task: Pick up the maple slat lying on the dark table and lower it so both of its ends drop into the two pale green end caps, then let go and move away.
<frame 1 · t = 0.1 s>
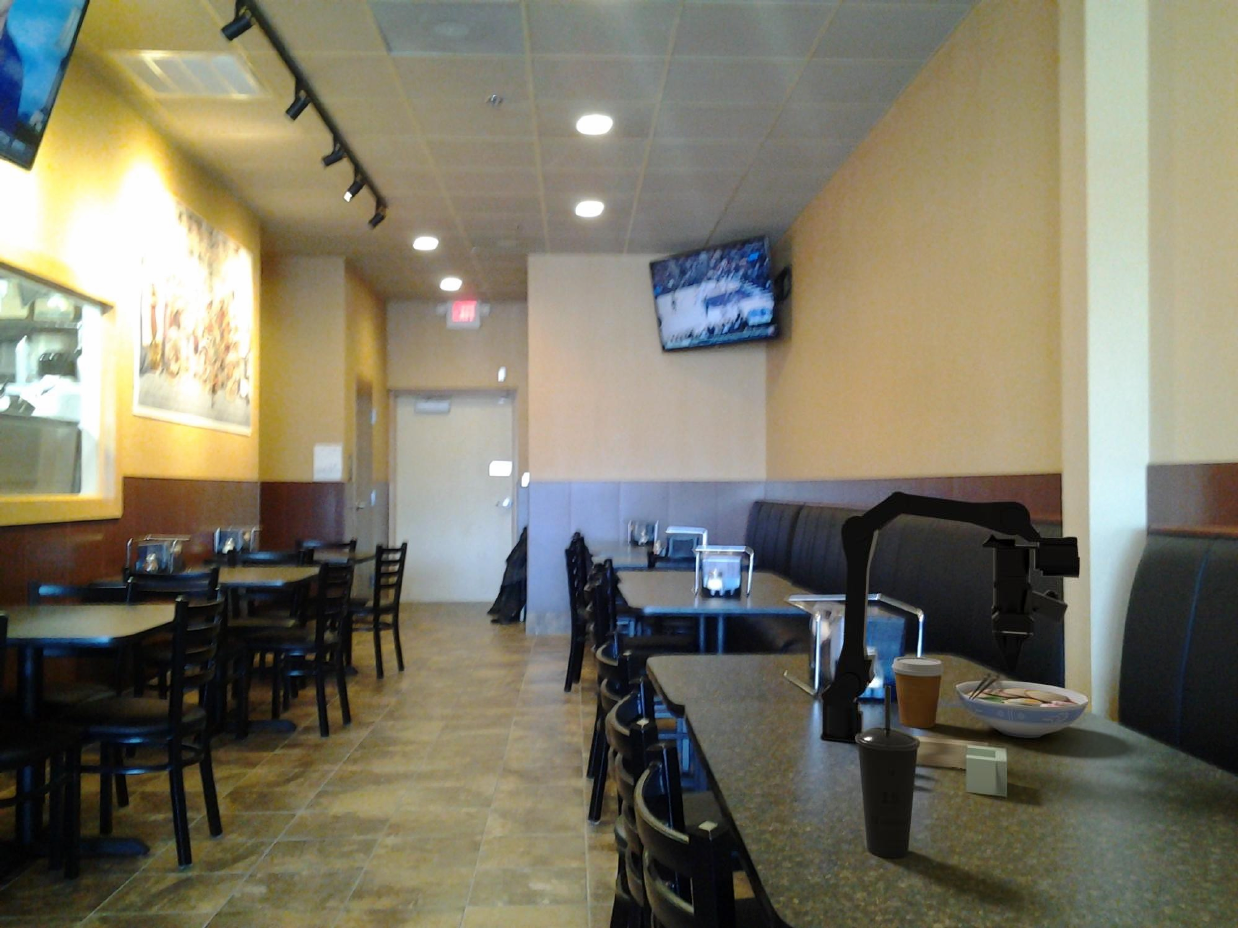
hand: (1011, 668, 158), 15 cm above the table, tool pointing down, fingers open, 9 cm apart
left end cap: (891, 775, 145), on the table
slat: (938, 765, 152), on the table
ramen bowl: (1020, 733, 173), on the table
drinking cup: (887, 852, 115), on the table
disposable coffee cup: (917, 725, 178), on the table
right end cap: (981, 785, 141), on the table
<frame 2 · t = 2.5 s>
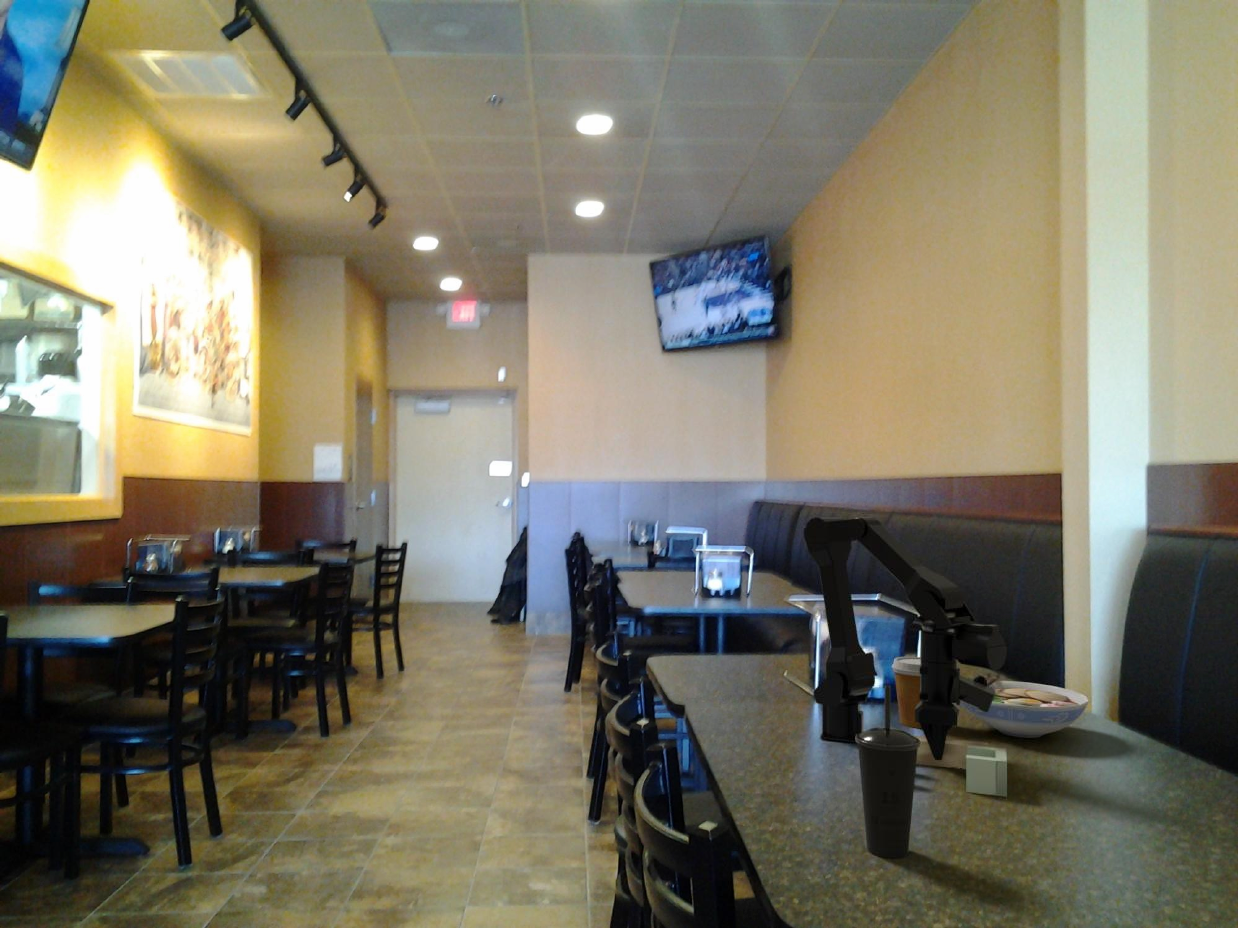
hand: (938, 756, 152), 1 cm above the table, tool pointing down, fingers closed on slat, 3 cm apart
slat: (938, 765, 152), on the table, touching gripper
everything else where it was.
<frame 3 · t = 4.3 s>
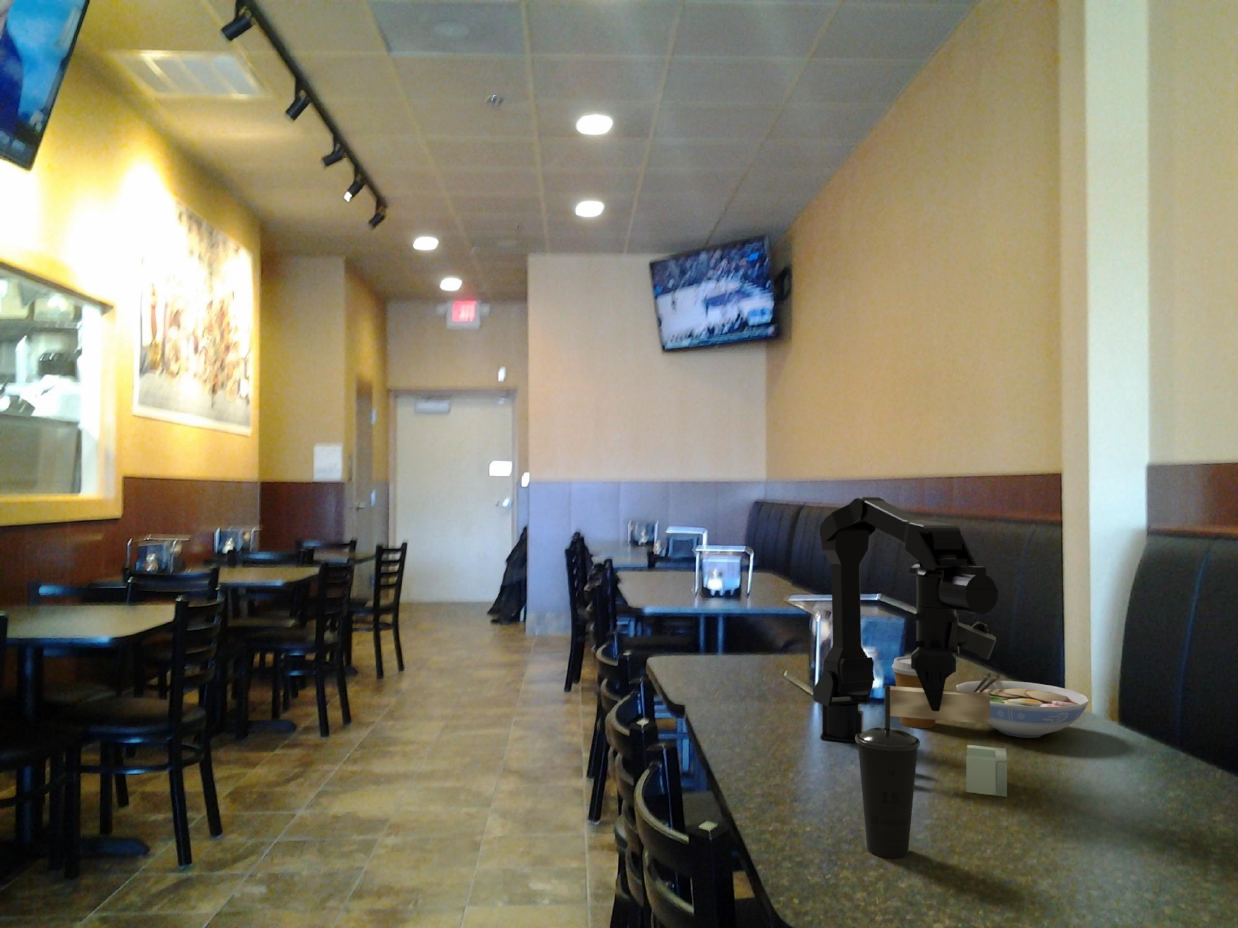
hand: (936, 708, 143), 11 cm above the table, tool pointing down, fingers closed on slat, 3 cm apart
slat: (936, 717, 143), point 10 cm above the table, touching gripper
everything else where it was.
when the fingers open (2 cm above the table, at t = 5.8 s): slat drops 1 cm, on the table.
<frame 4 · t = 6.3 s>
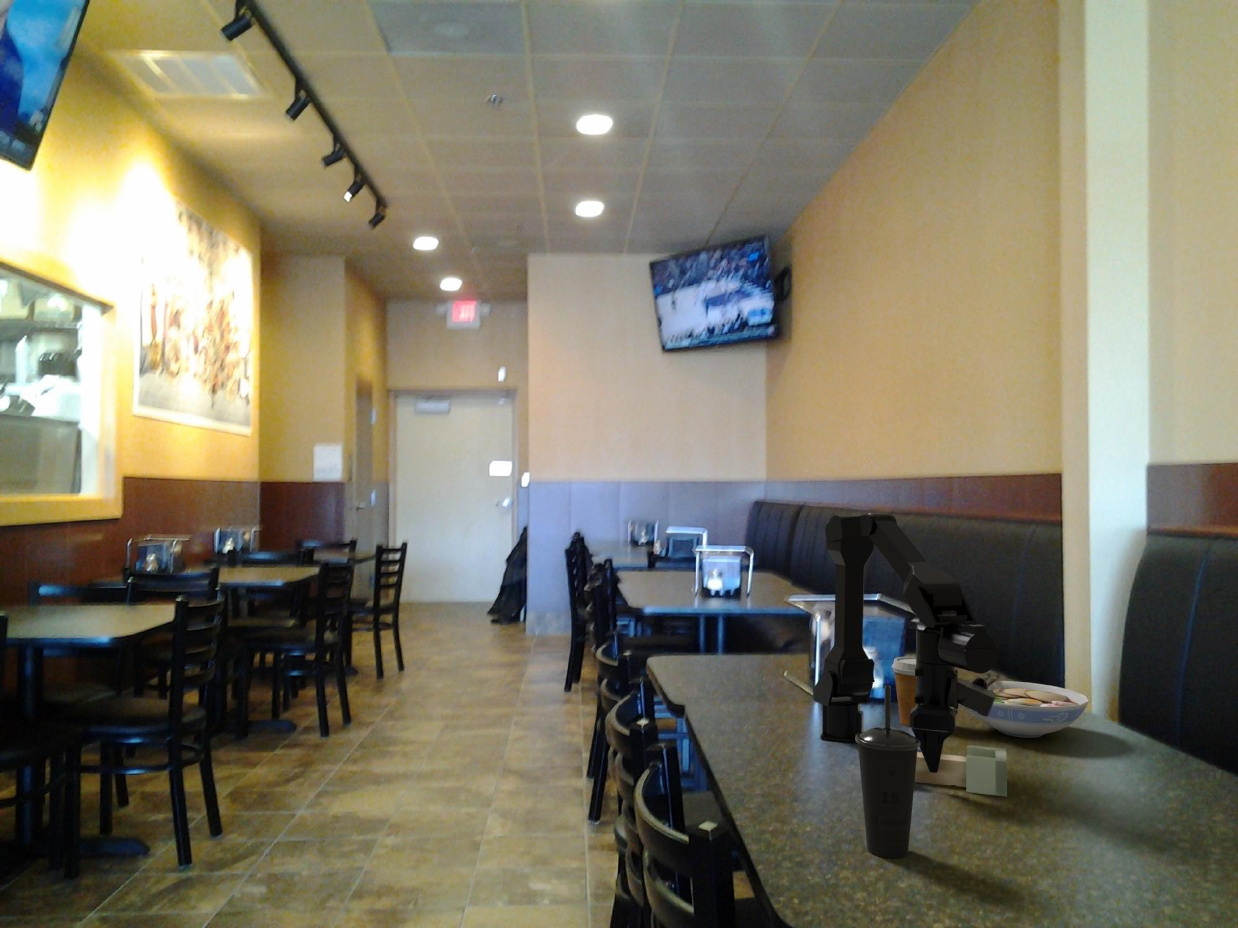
hand: (935, 764, 143), 2 cm above the table, tool pointing down, fingers open, 9 cm apart
slat: (935, 782, 143), on the table
everything else where it was.
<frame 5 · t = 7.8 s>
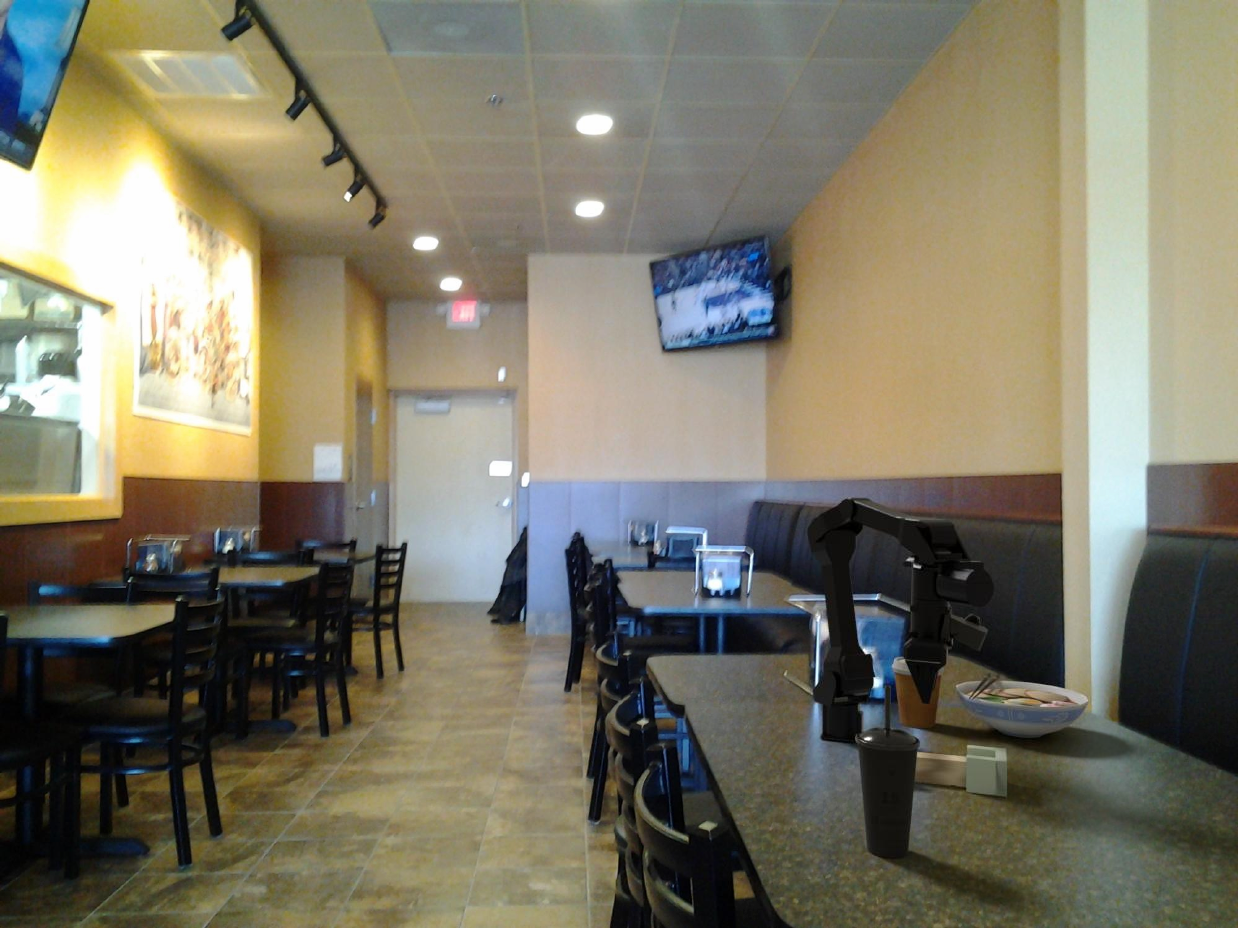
hand: (928, 697, 148), 12 cm above the table, tool pointing down, fingers open, 9 cm apart
nothing on the table moved.
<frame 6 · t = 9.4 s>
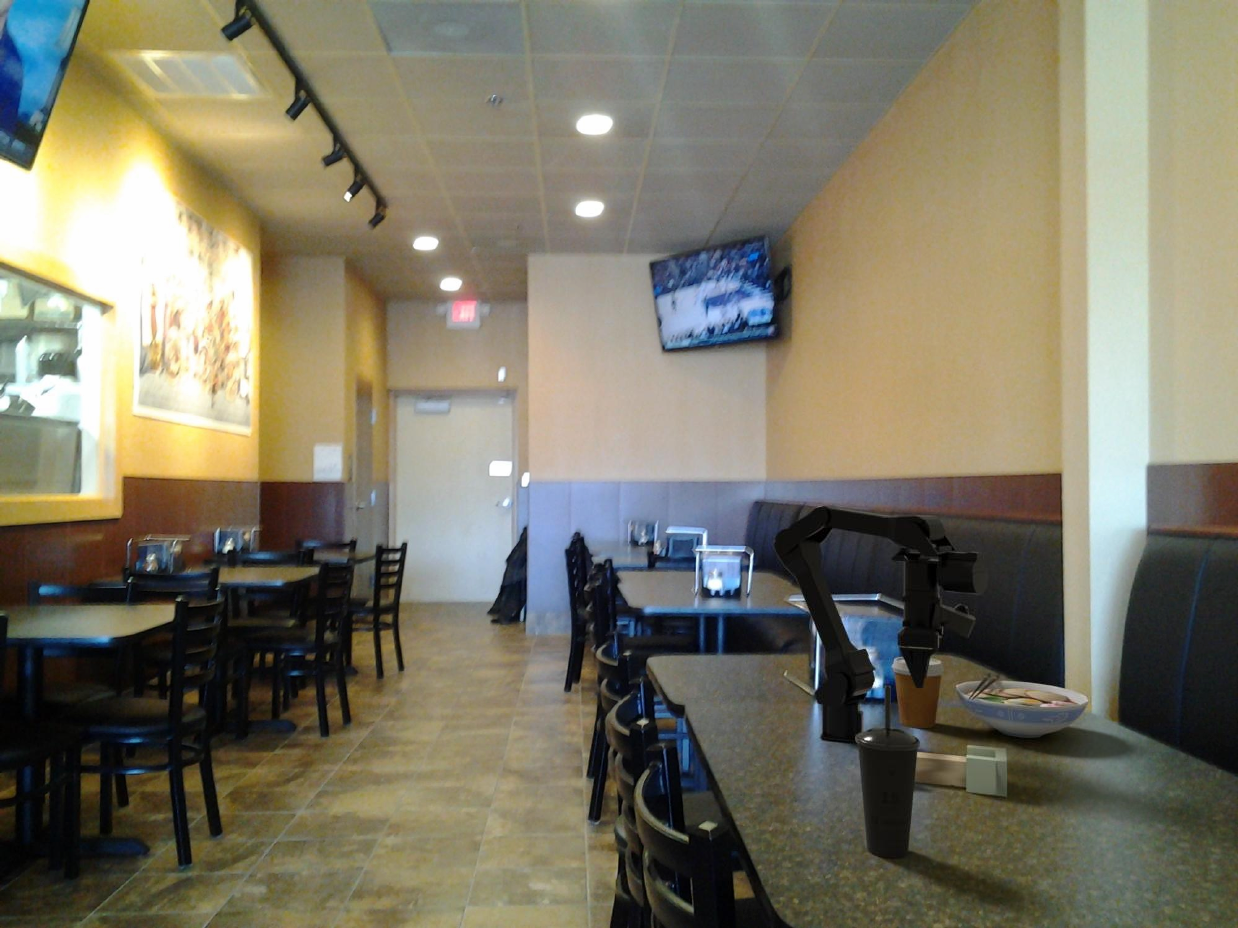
hand: (921, 682, 157), 12 cm above the table, tool pointing down, fingers open, 9 cm apart
nothing on the table moved.
at the end: slat 0.1 cm from the target spot, on the table; slat tilted 0°; the gripper is holding nothing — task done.
